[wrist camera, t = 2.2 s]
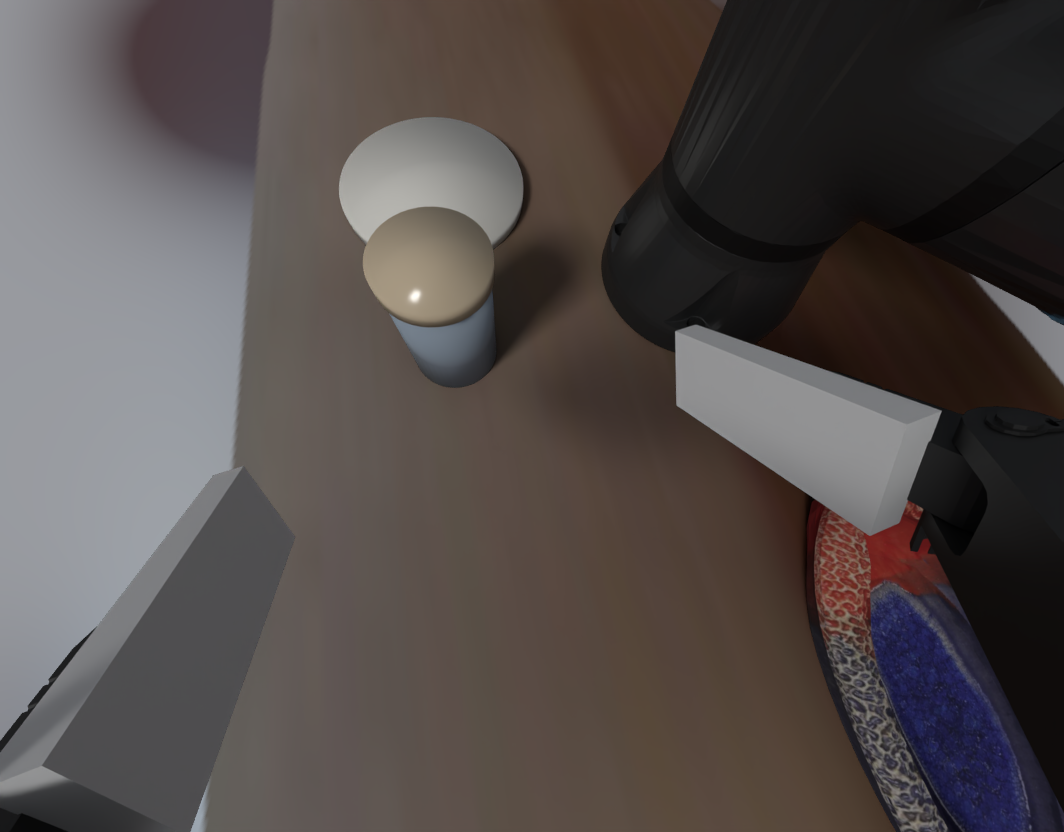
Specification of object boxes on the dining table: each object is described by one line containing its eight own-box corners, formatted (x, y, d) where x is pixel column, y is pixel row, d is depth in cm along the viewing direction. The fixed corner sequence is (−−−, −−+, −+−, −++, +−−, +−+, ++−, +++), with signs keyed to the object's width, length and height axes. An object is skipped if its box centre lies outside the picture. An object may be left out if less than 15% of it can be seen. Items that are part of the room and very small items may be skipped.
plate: (473, 108, 36) (472, 97, 35) (555, 224, 32) (556, 215, 31) (317, 162, 33) (311, 151, 32) (388, 296, 30) (384, 288, 29)
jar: (474, 299, 30) (458, 190, 20) (514, 365, 28) (517, 281, 19) (398, 334, 29) (342, 234, 19) (435, 405, 27) (395, 335, 18)
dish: (977, 1111, 19) (1140, 1312, 14) (718, 491, 27) (763, 482, 22) (1210, 969, 21) (1422, 1101, 16) (903, 434, 29) (981, 414, 24)
